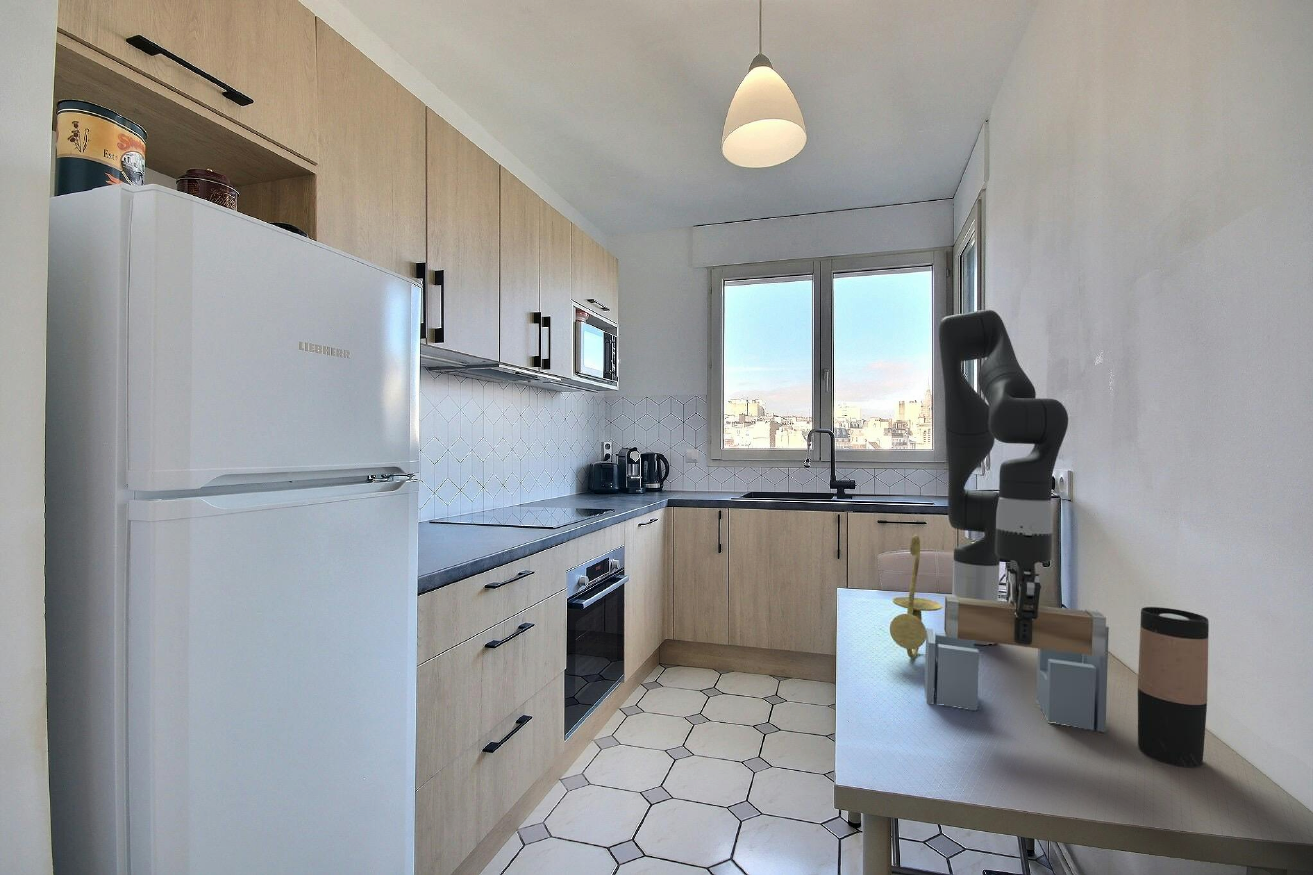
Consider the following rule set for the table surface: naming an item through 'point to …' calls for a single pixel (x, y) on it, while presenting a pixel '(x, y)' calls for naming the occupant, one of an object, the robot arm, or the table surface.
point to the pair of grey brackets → (1061, 680)
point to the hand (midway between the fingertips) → (1020, 638)
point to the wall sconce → (912, 611)
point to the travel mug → (1172, 685)
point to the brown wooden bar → (1048, 630)
